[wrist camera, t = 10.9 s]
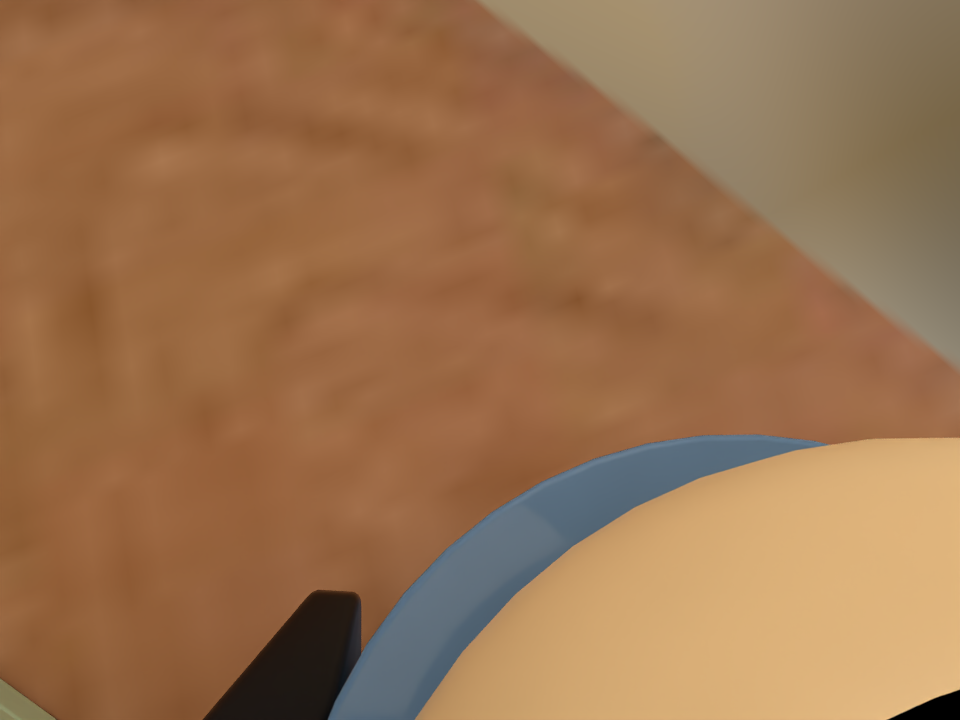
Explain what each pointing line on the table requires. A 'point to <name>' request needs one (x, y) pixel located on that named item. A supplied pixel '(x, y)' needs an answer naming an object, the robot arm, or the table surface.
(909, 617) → the peg doll
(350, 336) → the table surface
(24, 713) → the green square tray
